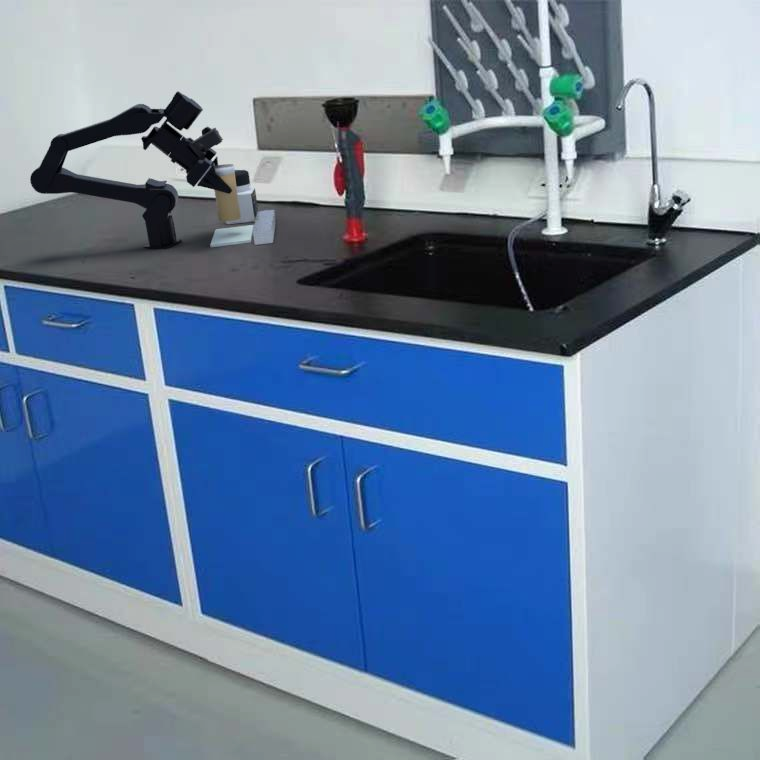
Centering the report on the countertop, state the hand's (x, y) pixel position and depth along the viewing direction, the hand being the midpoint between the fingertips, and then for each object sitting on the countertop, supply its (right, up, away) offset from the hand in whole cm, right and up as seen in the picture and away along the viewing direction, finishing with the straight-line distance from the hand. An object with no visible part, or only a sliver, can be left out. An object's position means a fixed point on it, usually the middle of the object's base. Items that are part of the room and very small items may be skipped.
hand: (231, 189), depth 285 cm
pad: (0, -10, +4) cm, 11 cm away
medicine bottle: (0, -4, +21) cm, 21 cm away
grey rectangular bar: (+7, -9, +5) cm, 12 cm away
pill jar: (-1, -6, +2) cm, 7 cm away
